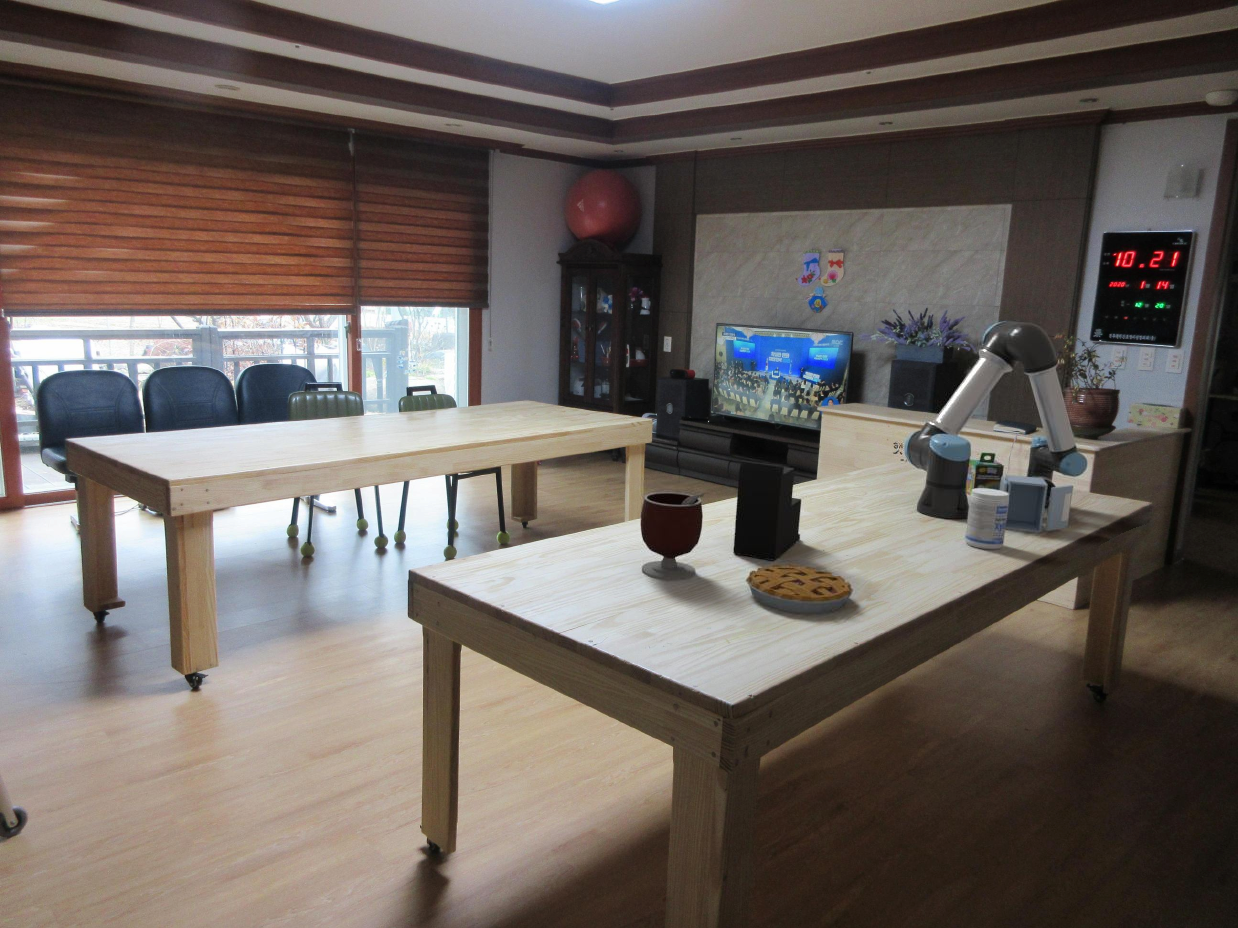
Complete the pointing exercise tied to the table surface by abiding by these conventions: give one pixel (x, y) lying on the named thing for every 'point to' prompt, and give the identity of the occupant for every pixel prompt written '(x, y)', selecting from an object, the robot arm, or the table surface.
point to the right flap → (1059, 507)
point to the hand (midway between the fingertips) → (1055, 507)
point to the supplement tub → (987, 518)
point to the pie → (799, 589)
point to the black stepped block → (765, 511)
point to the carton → (1024, 502)
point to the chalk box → (984, 473)
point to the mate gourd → (671, 532)
